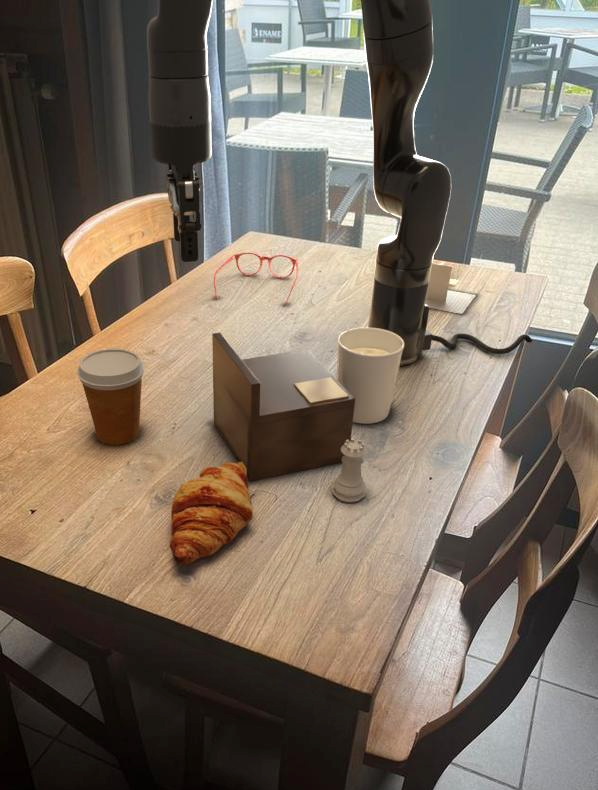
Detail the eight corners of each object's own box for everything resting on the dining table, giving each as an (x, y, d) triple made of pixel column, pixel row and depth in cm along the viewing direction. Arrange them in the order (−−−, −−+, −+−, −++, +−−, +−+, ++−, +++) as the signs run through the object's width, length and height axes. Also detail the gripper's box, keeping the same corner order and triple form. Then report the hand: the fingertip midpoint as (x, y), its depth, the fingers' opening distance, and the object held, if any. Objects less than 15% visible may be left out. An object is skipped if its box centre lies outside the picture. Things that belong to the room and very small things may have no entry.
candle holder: (398, 401, 117) (408, 332, 110) (388, 431, 110) (399, 359, 102) (338, 391, 120) (345, 323, 113) (325, 420, 112) (331, 349, 105)
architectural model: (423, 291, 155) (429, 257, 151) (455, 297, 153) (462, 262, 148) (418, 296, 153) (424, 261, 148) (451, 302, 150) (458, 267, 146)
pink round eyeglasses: (303, 278, 161) (305, 256, 158) (291, 306, 149) (293, 282, 146) (228, 272, 164) (228, 250, 161) (210, 298, 152) (209, 275, 149)
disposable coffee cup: (79, 425, 111) (68, 353, 104) (139, 412, 114) (132, 342, 107) (95, 457, 104) (85, 383, 97) (158, 442, 107) (152, 370, 100)
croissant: (220, 491, 103) (194, 445, 100) (282, 476, 98) (257, 426, 95) (161, 589, 86) (128, 537, 83) (232, 576, 81) (200, 520, 78)
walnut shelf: (303, 407, 115) (308, 319, 107) (348, 461, 103) (359, 366, 94) (213, 423, 111) (212, 333, 102) (249, 481, 99) (251, 384, 90)
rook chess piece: (364, 506, 95) (371, 455, 90) (330, 501, 96) (335, 451, 91) (366, 486, 98) (372, 436, 94) (333, 482, 99) (338, 432, 94)
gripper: (219, 127, 83) (221, 266, 92) (202, 106, 94) (206, 232, 104) (154, 130, 82) (162, 270, 91) (145, 108, 93) (153, 235, 103)
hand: (185, 250), depth 98 cm, fingers open, 8 cm apart
